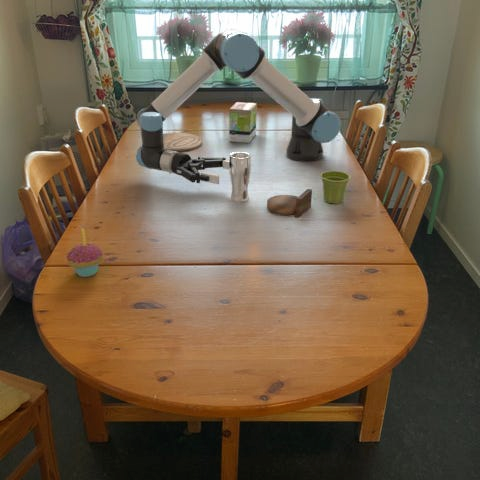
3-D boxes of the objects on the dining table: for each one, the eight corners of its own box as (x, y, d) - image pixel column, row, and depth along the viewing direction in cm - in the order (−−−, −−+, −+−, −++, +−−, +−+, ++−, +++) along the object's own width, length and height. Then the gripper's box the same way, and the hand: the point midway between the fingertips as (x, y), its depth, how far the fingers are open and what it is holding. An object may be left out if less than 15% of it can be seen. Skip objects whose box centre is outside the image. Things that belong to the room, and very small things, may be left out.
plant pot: (330, 208, 159) (332, 182, 155) (313, 198, 166) (315, 173, 162) (353, 203, 163) (356, 178, 159) (335, 193, 170) (338, 169, 166)
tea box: (250, 143, 222) (251, 109, 215) (228, 141, 223) (228, 108, 216) (256, 134, 235) (257, 102, 228) (235, 132, 236) (235, 101, 230)
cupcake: (73, 264, 127) (66, 221, 122) (107, 262, 128) (101, 220, 122) (66, 282, 120) (58, 237, 114) (102, 280, 120) (95, 236, 115)
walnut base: (260, 210, 157) (260, 193, 154) (276, 197, 166) (277, 180, 164) (297, 219, 152) (299, 201, 149) (312, 205, 161) (313, 188, 158)
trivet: (133, 149, 214) (133, 144, 213) (163, 134, 235) (162, 130, 234) (185, 156, 206) (185, 151, 205) (211, 140, 226) (211, 136, 225)
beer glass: (237, 193, 170) (237, 150, 163) (254, 197, 166) (255, 154, 159) (225, 199, 165) (224, 155, 158) (242, 204, 161) (242, 160, 154)
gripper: (197, 163, 183) (247, 172, 174) (154, 184, 164) (209, 197, 155) (196, 143, 180) (247, 152, 171) (153, 162, 161) (208, 174, 151)
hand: (229, 173), depth 163 cm, fingers open, 13 cm apart
